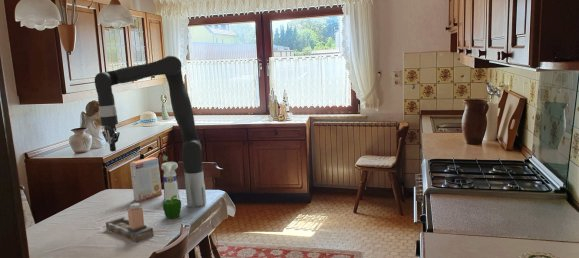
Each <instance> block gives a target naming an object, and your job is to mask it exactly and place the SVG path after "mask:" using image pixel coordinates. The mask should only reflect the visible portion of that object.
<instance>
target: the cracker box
mask: <svg viewBox="0 0 579 258" xmlns="http://www.w3.org/2000/svg"><path fill="white" fill-rule="evenodd" d="M129 166H130V167H129V168H130V175H131V183H132V192H133V193H132V194H133V200H134V201H137V202H143V201H145V200H148V199H151V198H154V197H158V196H161V195H163V193H162V183H161V173H160V165H159V158H158V157H154V156H151V157H147V158H142V159H139V160H134V161H130V162H129Z"/></svg>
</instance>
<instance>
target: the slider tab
mask: <svg viewBox="0 0 579 258" xmlns="http://www.w3.org/2000/svg"><path fill="white" fill-rule="evenodd" d="M127 214H128V220H129V226H130V227H128V230H129V231H131V232H134V233H135V232H138V231H140V230H143V229H146V226H147V225H145V220H144V210H143V206H141V204H140V203H138V202H134V203H131V204H129V208H128V209H127Z"/></svg>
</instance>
